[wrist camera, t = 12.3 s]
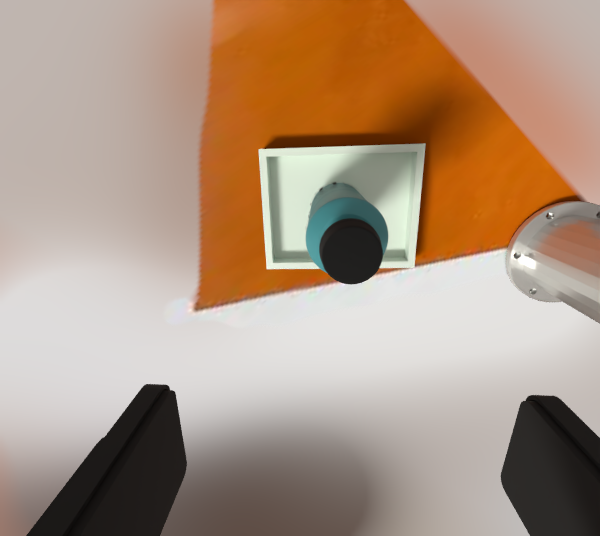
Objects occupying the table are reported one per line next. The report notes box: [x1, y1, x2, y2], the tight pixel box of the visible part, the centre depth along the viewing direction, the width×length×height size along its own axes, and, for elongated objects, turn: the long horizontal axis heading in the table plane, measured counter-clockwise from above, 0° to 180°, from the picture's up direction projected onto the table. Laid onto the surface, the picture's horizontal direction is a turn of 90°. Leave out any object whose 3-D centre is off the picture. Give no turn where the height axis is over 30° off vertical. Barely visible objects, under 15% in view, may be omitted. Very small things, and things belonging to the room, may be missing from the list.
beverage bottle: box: [306, 182, 388, 284], centre depth 29 cm, size 6×7×20 cm
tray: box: [259, 143, 426, 269], centre depth 38 cm, size 18×14×2 cm
